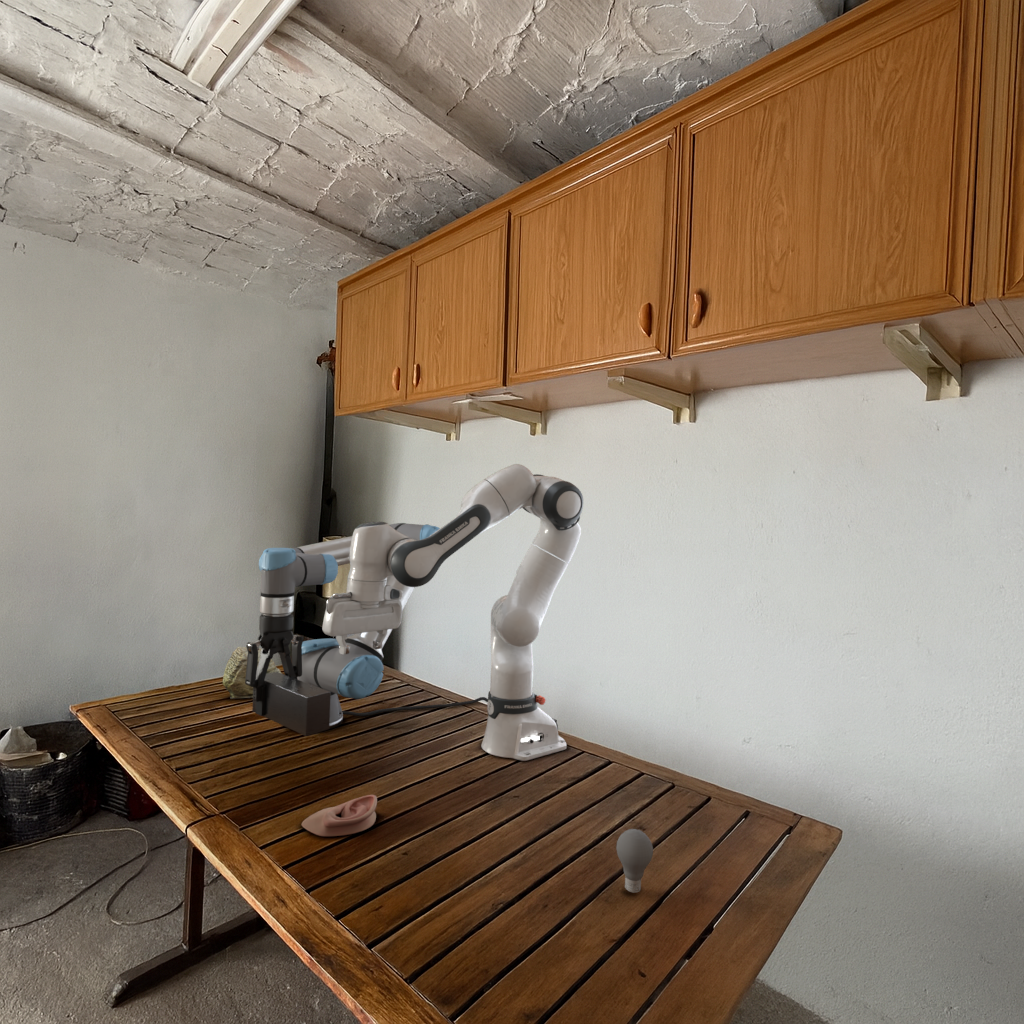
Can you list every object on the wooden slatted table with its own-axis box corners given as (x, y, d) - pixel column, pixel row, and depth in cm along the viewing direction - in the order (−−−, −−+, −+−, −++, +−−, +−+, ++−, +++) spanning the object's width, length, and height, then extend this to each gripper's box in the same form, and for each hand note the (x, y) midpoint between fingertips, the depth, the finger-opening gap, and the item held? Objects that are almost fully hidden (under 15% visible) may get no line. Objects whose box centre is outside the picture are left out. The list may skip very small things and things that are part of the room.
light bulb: (610, 879, 108) (613, 822, 108) (644, 879, 109) (647, 822, 109) (619, 902, 102) (622, 840, 102) (655, 901, 103) (658, 840, 103)
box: (252, 711, 150) (253, 676, 150) (275, 705, 155) (276, 671, 155) (305, 736, 136) (307, 697, 136) (329, 729, 141) (330, 691, 141)
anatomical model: (293, 811, 119) (323, 784, 130) (292, 831, 119) (323, 803, 130) (359, 821, 116) (384, 793, 128) (358, 842, 116) (383, 813, 128)
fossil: (218, 695, 195) (220, 647, 195) (278, 685, 208) (279, 640, 207) (228, 703, 189) (230, 653, 188) (289, 692, 201) (290, 645, 201)
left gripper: (246, 620, 140) (243, 725, 140) (320, 611, 154) (317, 705, 155) (229, 615, 144) (226, 716, 145) (303, 607, 159) (299, 698, 160)
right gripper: (336, 596, 136) (331, 660, 136) (408, 591, 152) (403, 648, 152) (319, 591, 140) (314, 653, 140) (390, 587, 156) (385, 643, 156)
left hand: (273, 710), depth 150 cm, fingers closed on box, 6 cm apart
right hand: (361, 651), depth 146 cm, fingers open, 8 cm apart
